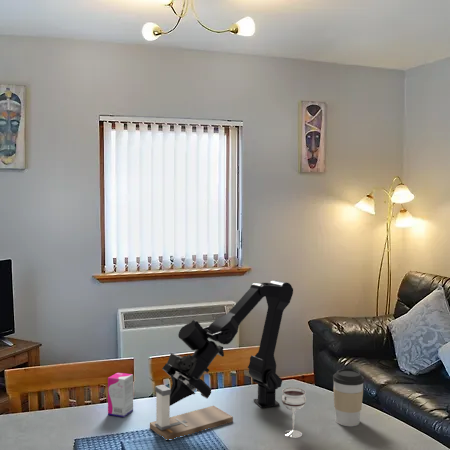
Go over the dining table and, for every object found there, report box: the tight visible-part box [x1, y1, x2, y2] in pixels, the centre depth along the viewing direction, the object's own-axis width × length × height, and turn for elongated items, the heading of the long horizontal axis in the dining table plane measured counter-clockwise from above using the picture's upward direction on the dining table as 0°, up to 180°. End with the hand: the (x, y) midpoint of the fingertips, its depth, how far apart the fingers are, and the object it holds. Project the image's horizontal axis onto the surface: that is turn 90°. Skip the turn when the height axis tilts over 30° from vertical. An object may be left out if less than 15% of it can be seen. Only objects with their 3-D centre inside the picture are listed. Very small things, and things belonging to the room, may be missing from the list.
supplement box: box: [107, 372, 134, 418], centre depth 163 cm, size 6×6×12 cm
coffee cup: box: [332, 367, 365, 427], centre depth 158 cm, size 9×9×15 cm
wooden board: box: [149, 405, 234, 440], centre depth 155 cm, size 22×10×2 cm, turn 125°
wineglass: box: [281, 387, 307, 439], centre depth 150 cm, size 7×7×12 cm
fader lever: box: [154, 384, 171, 430], centre depth 150 cm, size 3×4×11 cm
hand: (167, 404), depth 150 cm, fingers closed, pressing on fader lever
